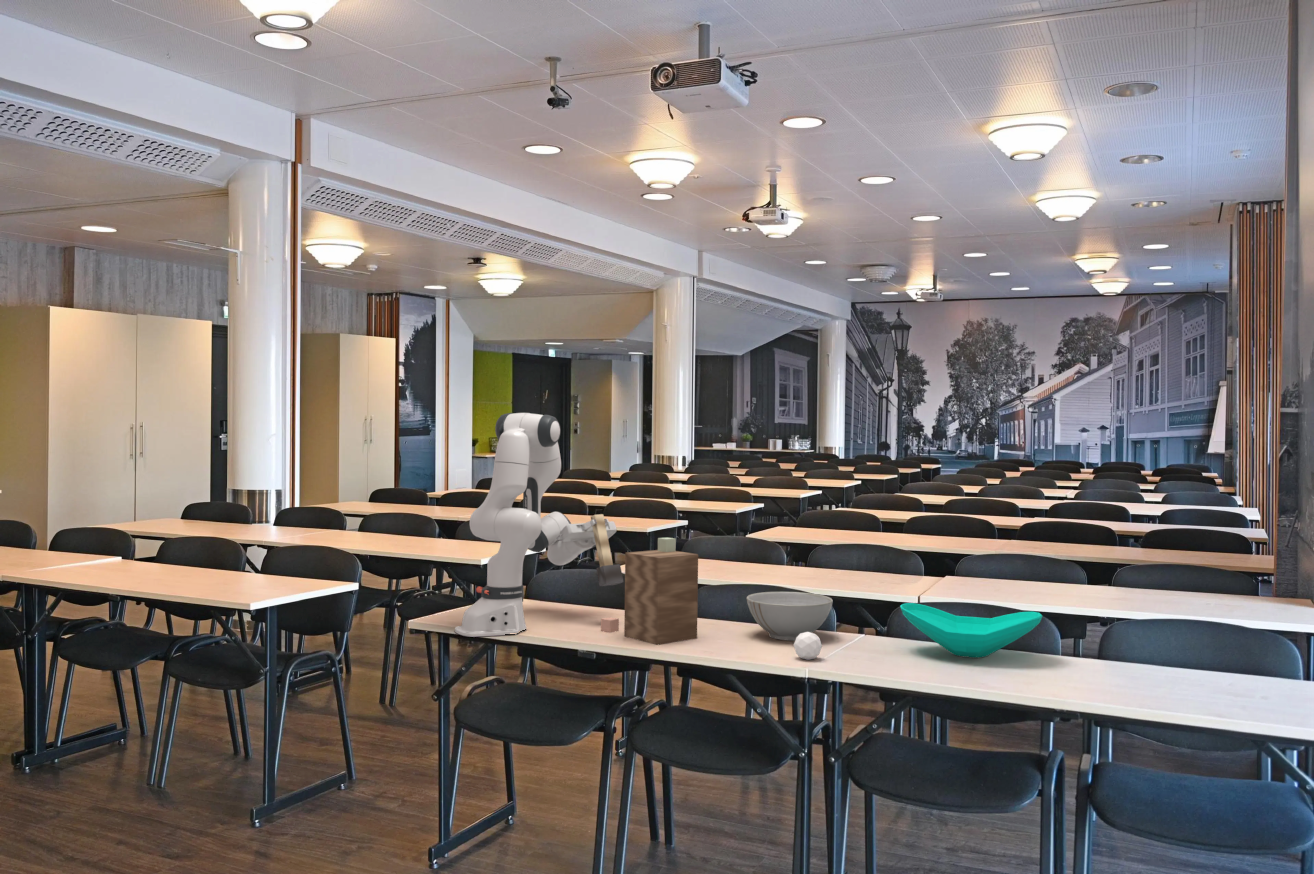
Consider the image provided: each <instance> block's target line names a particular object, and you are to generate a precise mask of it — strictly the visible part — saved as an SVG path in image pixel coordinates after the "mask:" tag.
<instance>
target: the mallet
mask: <svg viewBox="0 0 1314 874" xmlns="http://www.w3.org/2000/svg"><path fill="white" fill-rule="evenodd" d="M593 519H596V522H597V524H596V525H595V526H592V527H593V532H594V537H595V542H596V547H595V548H596V553H597V557H598V558H597V559H598V563H599V567H597V568H595V570H596V574H597V579H598V585H599V587H607V586H616V585H619V584H622V583H624V577H623V573H622V567H621V564H620V563H619V564H618V563H617V564H614V563H613V559H612V553H611V547H610V542H609V539H608V536H607V531H606V526H605V521H604V519H605V516H604V514H603V513H600V514H594V515H591V516H590V521H591V520H593Z"/></svg>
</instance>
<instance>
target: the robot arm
mask: <svg viewBox="0 0 1314 874" xmlns="http://www.w3.org/2000/svg"><path fill="white" fill-rule="evenodd" d="M494 428H495V435H496V436H495V437H496V438H497V440H498V443H497V446H496V450H495V455H494V463H493V464H494V465H493V472H492V478H491V479H492V480H491V484H490V488H489V491H488V493H487V495H486V496H485V499H484V501H483V502H482V503H481V504H480V506H479V507H477V508H476V509H475V510H474V511H473V512H472V513H471V516H470V518H469V529H470V532H471V533H472V535H473V536H475V537H476V538H480V539H482V540H485V541H490V542H500V546H499V548H498V551H497V553H496V554H494V555H493V556H491V557H490V558H489V559H488V562H487V567H486V569H487V571H486V572H487V574H486V576H487V577H486V585H485V586H484V587H483V586H477V587H476V589H475V590H476V592H477V593H478V594H481V597H480V598H478V600H476V601H475V603H473V604H472V605H471V606H469V607H468V608H467V609H465V611H464V612H463V616H462V621H461V625H460V626H459V625H458V626H455V627H454V632H455V633H456V634H458V635H460V636H463V637H469V638H470V637H473V638H475V637H476V638H477V637H493V636H506V635H505V634H510V633H518V632H519V631H522V630H525V629H526V628H527V625H526V621H525V615H524V608H523V607H524V605H523V602H524V596H525V595H524V594H525V592H524V584H523V572H524V571H523V570H524V560H525V558H526V553H527V551H528V550H529V551H531V552H534V553H542V551H544V550H545V549H547V552H546V556H547V559H548V561H549V562H550V563H552V564H553V565H555V566H564V565H567V564H569V563H571V562H572V561H573V560H575V559H577V558H578V556H579V555H581V554H582V553H584V552H585V551H588V550H590V549H593V548H596V542H595V537H594V532H593V527H592V526H595V525H596V524H597V522H596V519H593V520H591V519H590V520H589V521H587V522H582V523H571V521H570V520H569V518H568V517H567V516H566V515H565V514H563V513H562V512H561V511H552V512H550V513H548V514H547V515H544V516H542V517H541V515H542V514H541V513H542V510H541V502H542V499H543V496H544V494H545V492H547V490H548V488H549V487H550V486H551V485H552V484H553V483H554V482H555V481H557V479H558V478H559V476H560V474H561V470H562V459H561V453H560V446H559V439H560V438H561V437H560V436H561V425H560V422H559V421H558V419H557V418H556V416H552V415H550V414H544V415H543V414H538V413H530V412H516V413H513V412H508V413H503V414H501V415H500V417H498V419H497V420H496V423H495V426H494ZM522 494H523V495H522ZM520 495H522V496H523V497H522V507H513V504H514V502H515V500H516V499H517V497H519V496H520ZM604 521H605V526H606V531H607V536H608V540H609V539H610V538H611V537H612V536H614V535H615V534H616V533H617V526H616V523H615V521H610V520H609V519H608V518H604ZM527 629H528V628H527ZM527 629H526V630H527ZM526 630H525V631H526ZM522 632H523V631H522Z"/></svg>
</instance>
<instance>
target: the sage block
mask: <svg viewBox="0 0 1314 874" xmlns="http://www.w3.org/2000/svg"><path fill="white" fill-rule="evenodd" d="M676 542H677V538H675V537H674V538H673V537H658V538H657V550H658V551H662V552H673V551H677V550H676V544H677V543H676Z"/></svg>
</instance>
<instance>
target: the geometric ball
mask: <svg viewBox="0 0 1314 874" xmlns="http://www.w3.org/2000/svg"><path fill="white" fill-rule="evenodd" d="M822 647H823V644H822V642H821V639H820V637H819V636H818V635H817V634H816V633H814V632H812V633H810V632H804V633H800V634H799V635H798V637H797V638H796V640H794V642H793V648H794V651H795V654H796V655H797V656H798V657H799V658H800V659H803V660H806V661H809V660H813V659H816V658H818V656H819V655H820V653H821V650H822Z"/></svg>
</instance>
